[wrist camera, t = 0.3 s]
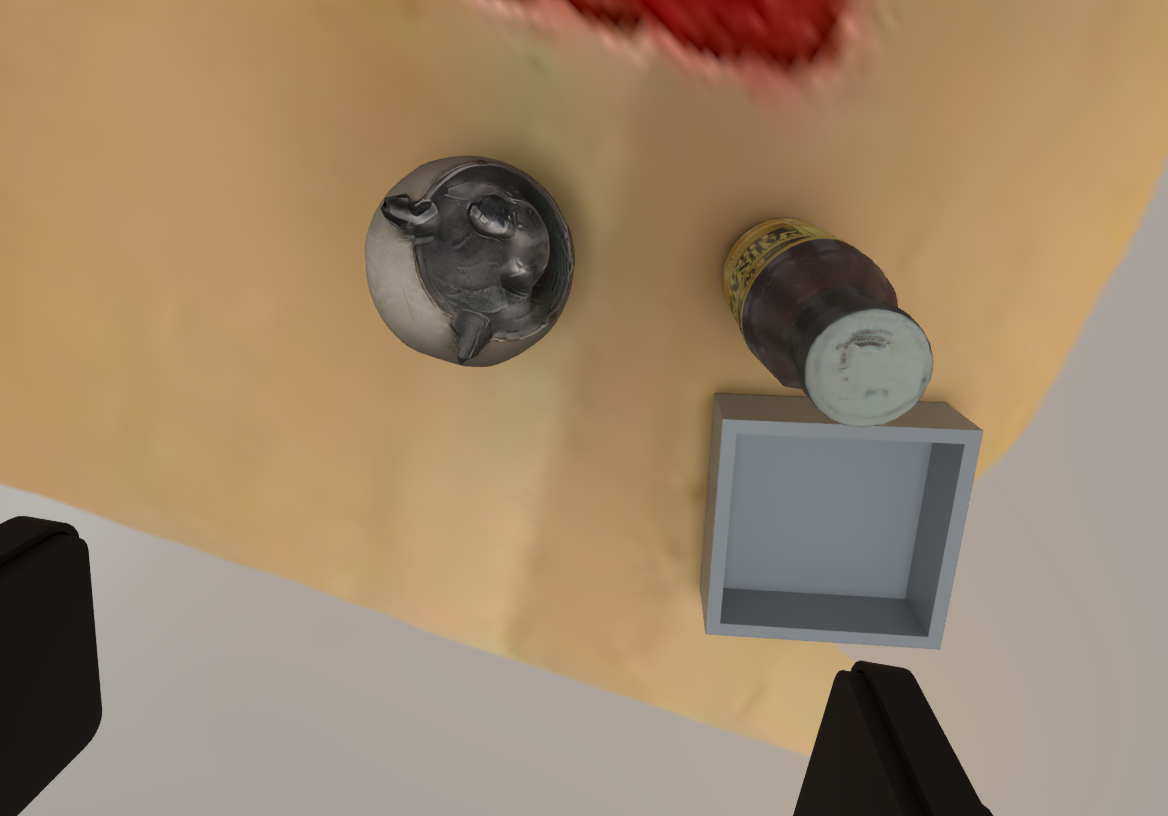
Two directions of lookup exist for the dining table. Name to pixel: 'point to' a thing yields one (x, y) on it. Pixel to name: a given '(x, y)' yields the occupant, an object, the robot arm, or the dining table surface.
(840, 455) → the box
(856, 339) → the sauce bottle
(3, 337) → the dining table surface
